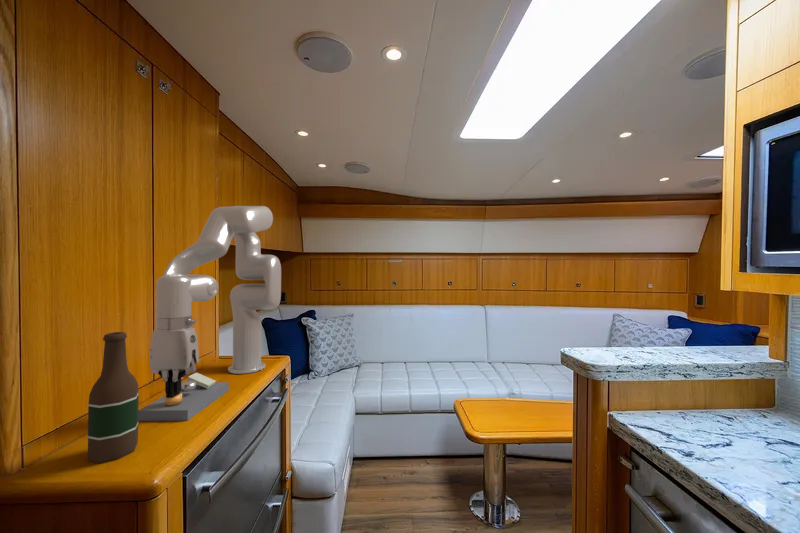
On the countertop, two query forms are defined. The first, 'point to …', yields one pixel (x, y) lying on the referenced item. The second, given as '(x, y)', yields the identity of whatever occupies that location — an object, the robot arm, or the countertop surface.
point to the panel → (183, 404)
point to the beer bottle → (113, 405)
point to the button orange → (173, 400)
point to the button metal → (188, 386)
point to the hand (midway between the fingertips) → (173, 395)
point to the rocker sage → (201, 380)
